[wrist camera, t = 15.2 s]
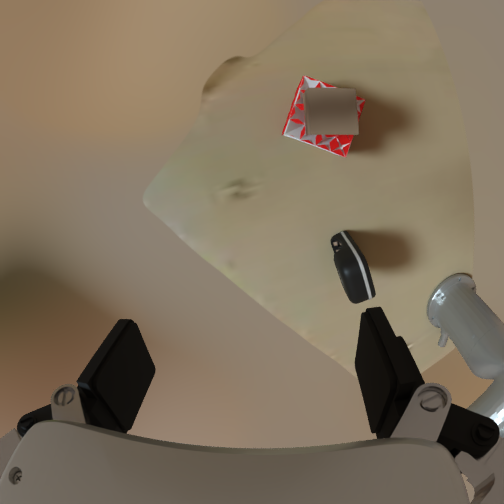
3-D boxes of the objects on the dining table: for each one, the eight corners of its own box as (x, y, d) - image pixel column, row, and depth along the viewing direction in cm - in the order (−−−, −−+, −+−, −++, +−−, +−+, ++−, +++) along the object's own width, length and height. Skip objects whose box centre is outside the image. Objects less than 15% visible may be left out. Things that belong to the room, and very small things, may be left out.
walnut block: (346, 134, 30) (358, 135, 26) (305, 134, 31) (311, 134, 26) (344, 94, 28) (355, 88, 24) (302, 94, 29) (307, 87, 24)
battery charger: (323, 236, 44) (338, 269, 33) (345, 227, 43) (366, 257, 32) (336, 272, 46) (352, 312, 36) (357, 264, 45) (378, 302, 35)
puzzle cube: (349, 105, 36) (365, 99, 28) (332, 153, 39) (345, 157, 31) (297, 86, 35) (303, 75, 28) (281, 134, 38) (283, 134, 31)
